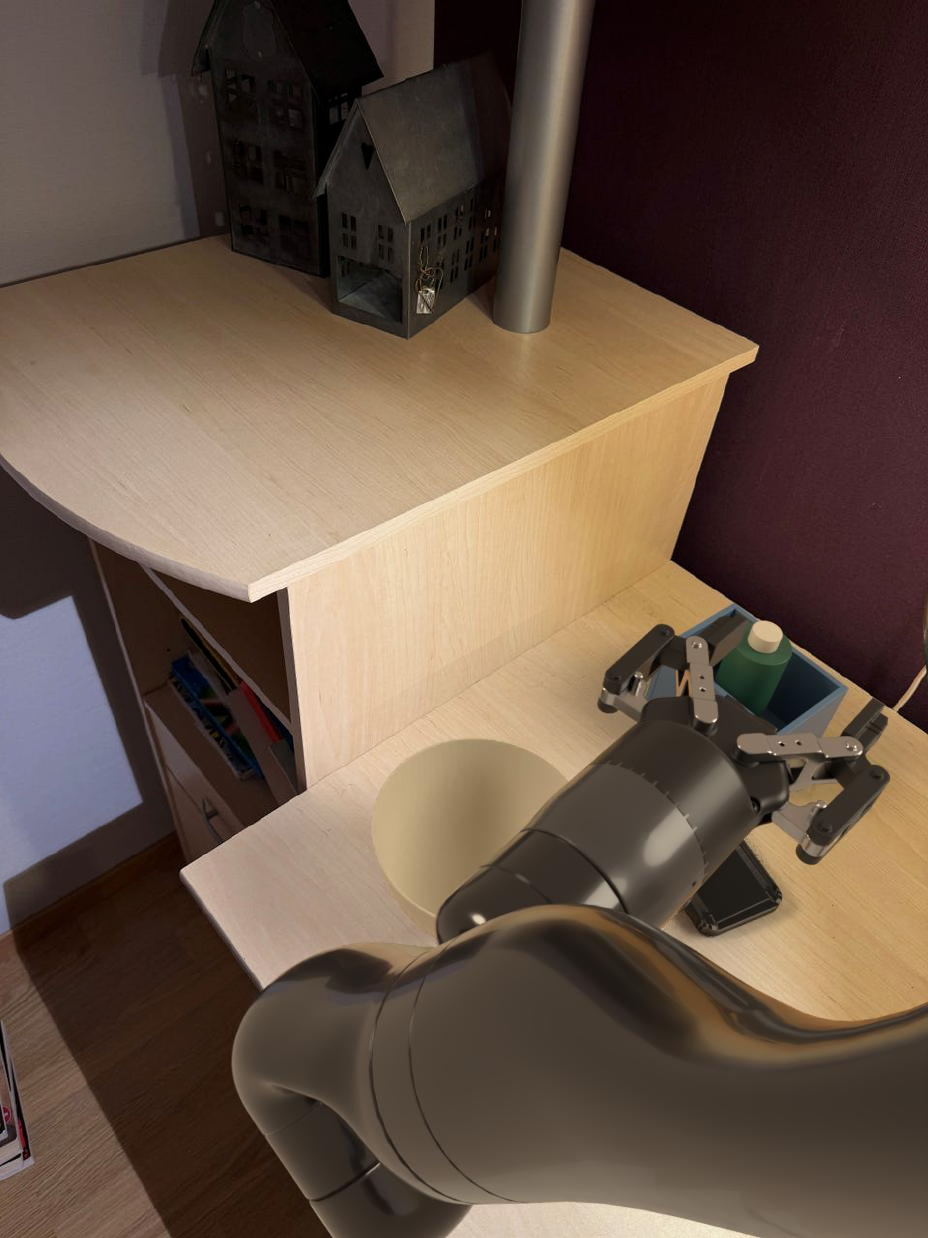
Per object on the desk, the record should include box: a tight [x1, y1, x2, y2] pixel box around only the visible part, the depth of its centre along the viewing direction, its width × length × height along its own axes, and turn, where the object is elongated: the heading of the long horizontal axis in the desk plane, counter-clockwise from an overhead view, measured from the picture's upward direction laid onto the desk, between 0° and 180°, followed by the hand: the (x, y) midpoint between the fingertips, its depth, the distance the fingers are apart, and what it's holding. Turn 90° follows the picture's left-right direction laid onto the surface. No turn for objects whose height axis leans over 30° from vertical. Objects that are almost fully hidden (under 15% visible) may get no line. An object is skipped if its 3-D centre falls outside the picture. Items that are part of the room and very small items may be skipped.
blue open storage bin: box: [645, 602, 850, 764], centre depth 84 cm, size 13×10×8 cm
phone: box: [683, 839, 783, 938], centre depth 77 cm, size 8×1×15 cm
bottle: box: [714, 620, 793, 718], centre depth 82 cm, size 5×5×12 cm
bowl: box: [370, 736, 571, 938], centre depth 69 cm, size 16×16×10 cm
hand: (804, 666), depth 51 cm, fingers open, 8 cm apart
